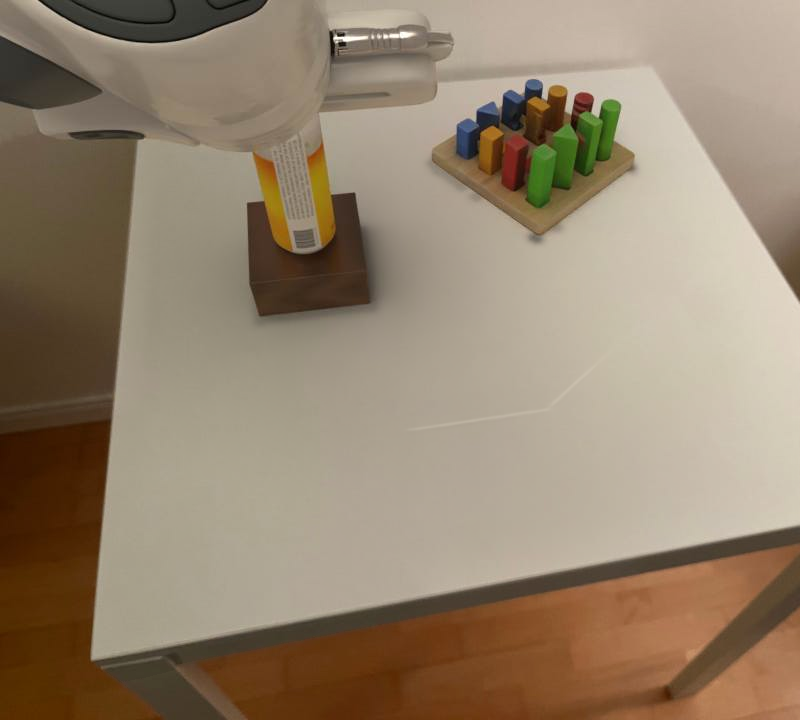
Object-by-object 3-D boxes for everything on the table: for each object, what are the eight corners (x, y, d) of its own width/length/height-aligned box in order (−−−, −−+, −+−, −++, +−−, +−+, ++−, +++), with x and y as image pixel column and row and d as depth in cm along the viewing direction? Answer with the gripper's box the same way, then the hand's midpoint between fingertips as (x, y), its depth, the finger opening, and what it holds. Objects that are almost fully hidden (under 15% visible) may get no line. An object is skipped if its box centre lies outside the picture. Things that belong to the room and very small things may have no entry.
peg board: (527, 99, 95) (535, 38, 88) (634, 166, 89) (651, 105, 82) (429, 160, 88) (429, 97, 81) (538, 237, 81) (548, 177, 74)
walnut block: (259, 316, 73) (249, 283, 69) (256, 237, 79) (246, 202, 75) (370, 303, 75) (367, 270, 71) (359, 226, 81) (355, 192, 77)
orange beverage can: (327, 208, 75) (307, 78, 63) (343, 249, 72) (325, 121, 60) (268, 221, 74) (235, 90, 61) (281, 264, 70) (250, 135, 58)
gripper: (452, -42, 34) (422, 36, 47) (-34, -19, 30) (82, 58, 44) (467, 102, 35) (433, 138, 48) (0, 139, 32) (103, 166, 45)
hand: (263, 100), depth 46 cm, fingers open, 8 cm apart
